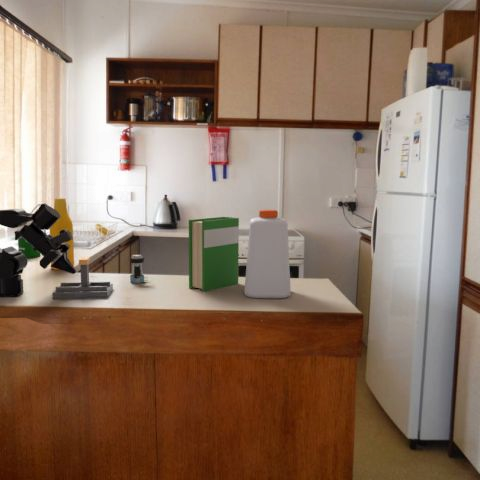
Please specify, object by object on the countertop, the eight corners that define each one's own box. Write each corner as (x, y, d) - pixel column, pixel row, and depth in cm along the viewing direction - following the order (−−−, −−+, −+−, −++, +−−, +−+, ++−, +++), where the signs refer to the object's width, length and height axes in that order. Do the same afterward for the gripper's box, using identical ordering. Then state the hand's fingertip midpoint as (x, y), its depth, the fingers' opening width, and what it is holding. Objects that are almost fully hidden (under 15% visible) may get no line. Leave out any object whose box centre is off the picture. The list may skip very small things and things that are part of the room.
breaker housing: (52, 299, 159) (52, 289, 159) (61, 290, 171) (61, 281, 171) (107, 298, 161) (107, 288, 161) (112, 289, 173) (112, 280, 173)
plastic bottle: (245, 288, 177) (245, 208, 173) (288, 288, 176) (290, 208, 172) (244, 298, 162) (244, 211, 158) (291, 299, 161) (293, 212, 157)
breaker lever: (79, 288, 163) (78, 260, 162) (82, 285, 168) (81, 257, 167) (88, 288, 164) (87, 259, 162) (91, 285, 168) (90, 257, 167)
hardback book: (204, 291, 171) (204, 221, 168) (189, 288, 175) (188, 219, 172) (238, 283, 184) (238, 218, 181) (223, 280, 189) (223, 216, 186)
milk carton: (15, 257, 236) (13, 214, 233) (32, 254, 244) (30, 213, 241) (26, 259, 231) (24, 215, 229) (43, 256, 239) (42, 214, 236)
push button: (146, 280, 188) (146, 253, 187) (149, 283, 183) (149, 255, 182) (128, 281, 186) (128, 254, 185) (131, 284, 181) (130, 256, 180)
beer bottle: (64, 270, 205) (62, 199, 201) (46, 269, 208) (43, 198, 204) (79, 266, 213) (76, 198, 210) (60, 265, 216) (58, 197, 212)
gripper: (48, 224, 153) (87, 260, 156) (63, 219, 171) (97, 251, 174) (22, 250, 153) (61, 285, 156) (40, 242, 171) (74, 273, 174)
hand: (75, 272), depth 165 cm, fingers closed
